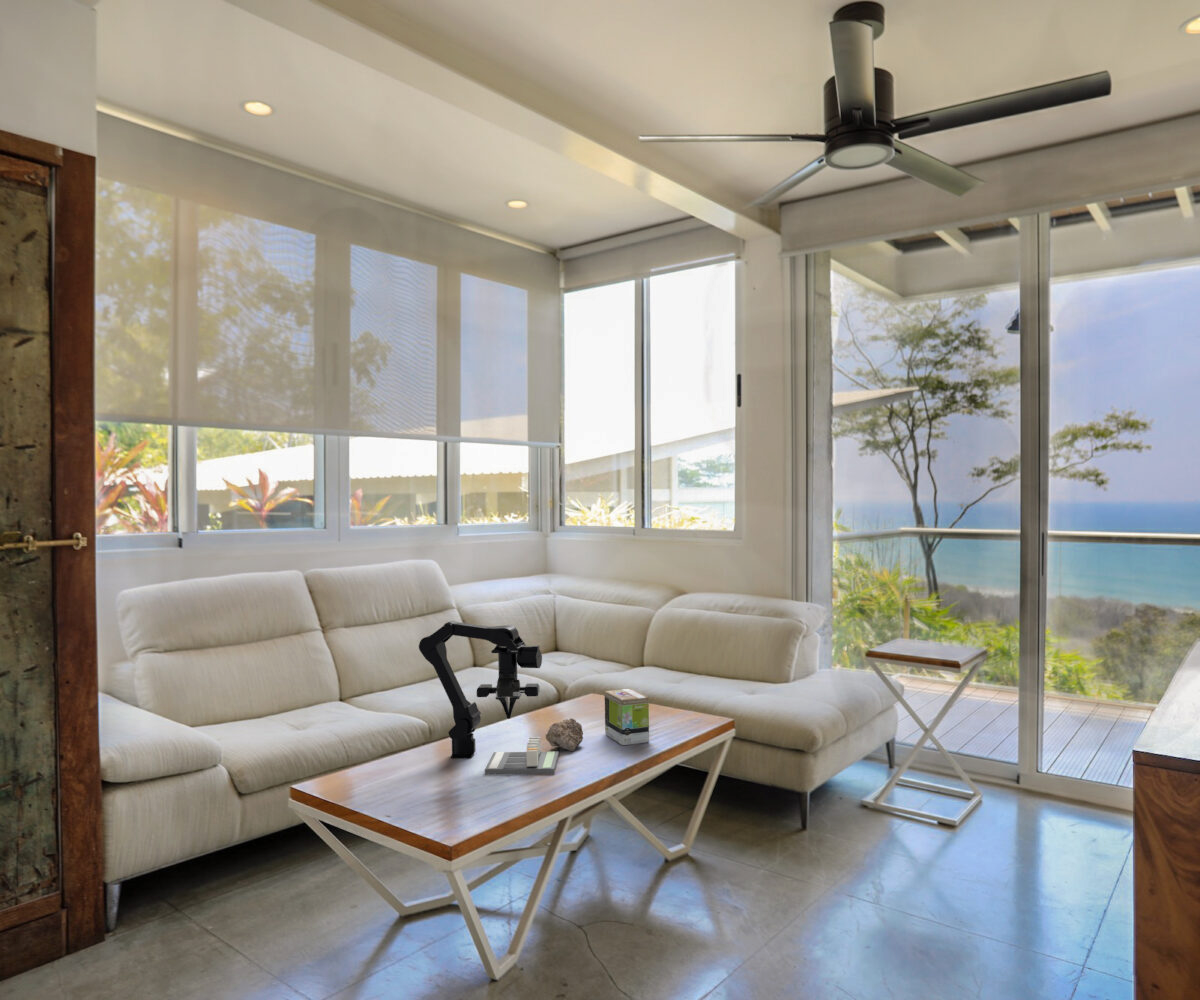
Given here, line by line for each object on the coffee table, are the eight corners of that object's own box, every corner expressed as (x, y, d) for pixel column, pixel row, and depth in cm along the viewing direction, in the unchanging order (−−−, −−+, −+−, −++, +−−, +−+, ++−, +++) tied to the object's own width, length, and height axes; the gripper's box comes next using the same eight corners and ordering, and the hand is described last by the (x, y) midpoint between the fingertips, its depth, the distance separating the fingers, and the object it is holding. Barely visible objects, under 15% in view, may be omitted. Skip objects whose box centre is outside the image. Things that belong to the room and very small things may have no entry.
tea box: (650, 742, 264) (649, 696, 264) (621, 746, 261) (620, 699, 261) (631, 730, 278) (630, 687, 278) (604, 734, 275) (603, 690, 275)
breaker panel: (484, 774, 236) (484, 768, 236) (493, 757, 252) (493, 751, 252) (554, 773, 236) (554, 768, 236) (558, 756, 252) (558, 751, 252)
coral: (566, 756, 252) (553, 725, 253) (547, 761, 258) (535, 731, 259) (594, 738, 263) (582, 709, 264) (576, 743, 268) (564, 715, 270)
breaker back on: (529, 754, 248) (529, 739, 248) (530, 751, 251) (530, 736, 251) (539, 754, 248) (538, 739, 248) (540, 751, 251) (540, 736, 251)
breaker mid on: (527, 760, 242) (526, 744, 242) (528, 757, 245) (528, 741, 245) (537, 760, 242) (537, 744, 242) (538, 757, 245) (538, 741, 245)
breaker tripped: (526, 766, 237) (526, 750, 237) (528, 763, 240) (527, 747, 240) (537, 766, 237) (536, 750, 237) (538, 762, 240) (537, 747, 240)
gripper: (472, 673, 244) (473, 726, 244) (535, 672, 243) (536, 725, 243) (479, 665, 255) (480, 716, 255) (539, 664, 254) (540, 715, 254)
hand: (508, 718), depth 252 cm, fingers closed
